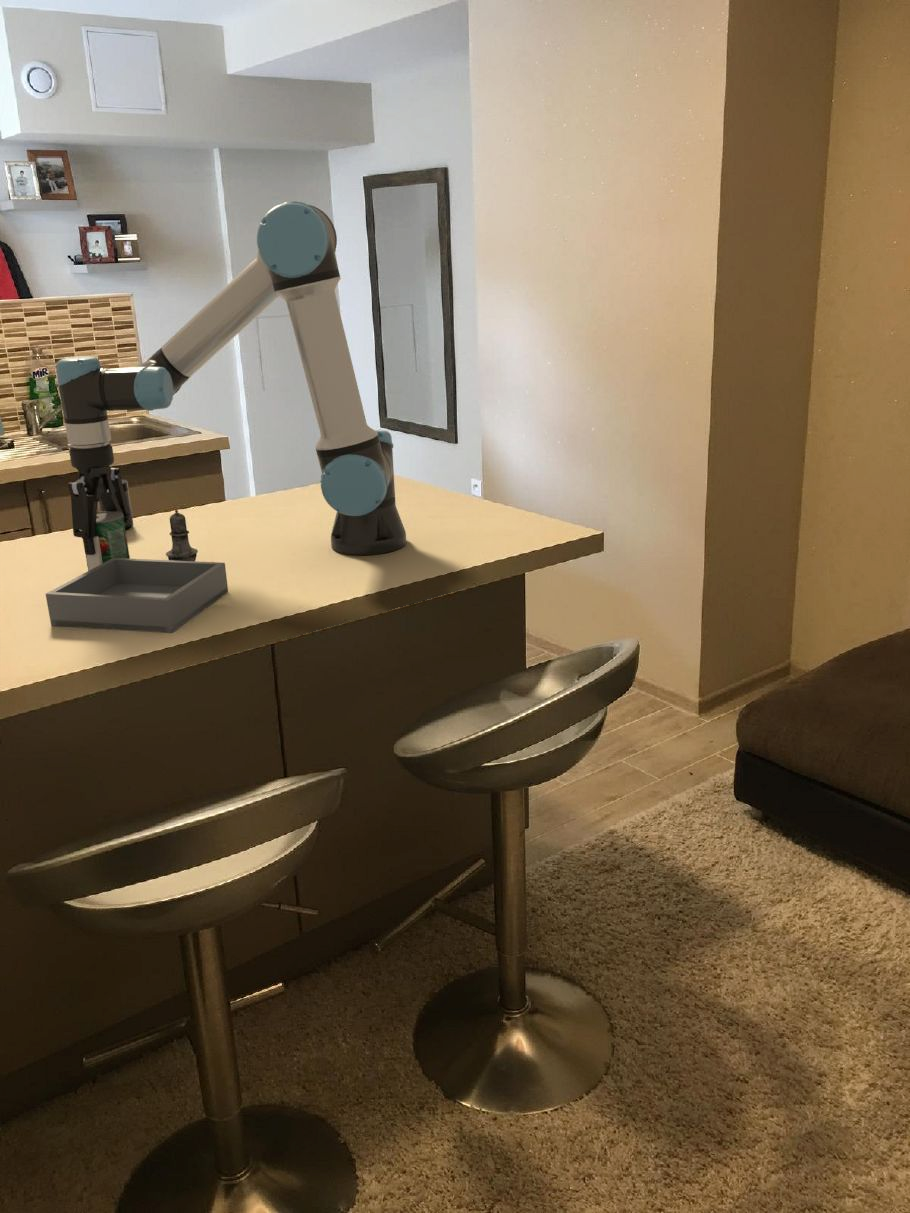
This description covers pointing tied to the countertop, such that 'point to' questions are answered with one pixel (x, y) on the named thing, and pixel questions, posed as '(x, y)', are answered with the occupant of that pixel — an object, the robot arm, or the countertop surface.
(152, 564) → the tote
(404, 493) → the countertop surface
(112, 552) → the canned tomato
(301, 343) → the robot arm
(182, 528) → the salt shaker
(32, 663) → the countertop surface
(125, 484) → the supplement container
